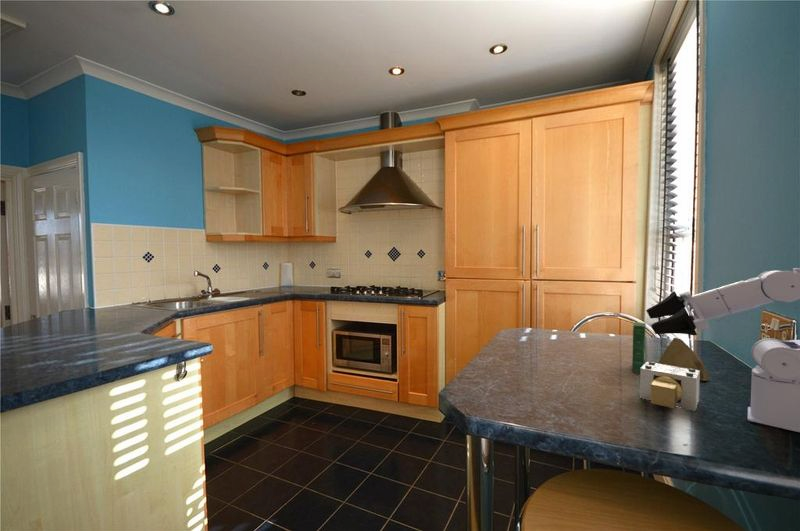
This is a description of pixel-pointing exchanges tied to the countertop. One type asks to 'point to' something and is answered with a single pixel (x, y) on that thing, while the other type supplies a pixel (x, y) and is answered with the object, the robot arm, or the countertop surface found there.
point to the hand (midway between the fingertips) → (650, 321)
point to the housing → (686, 376)
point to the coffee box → (638, 346)
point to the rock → (683, 358)
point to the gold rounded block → (666, 391)
